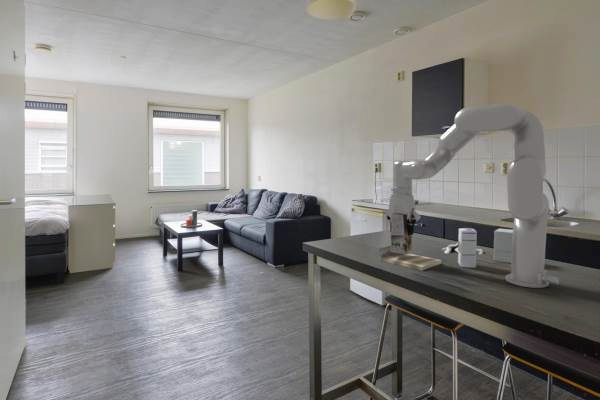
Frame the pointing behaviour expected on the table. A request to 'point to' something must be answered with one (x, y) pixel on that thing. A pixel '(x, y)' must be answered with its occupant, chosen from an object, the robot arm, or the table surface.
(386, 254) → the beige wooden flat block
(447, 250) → the cloth
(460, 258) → the syrup box
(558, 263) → the table surface
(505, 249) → the supplement box
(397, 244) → the coffee box
